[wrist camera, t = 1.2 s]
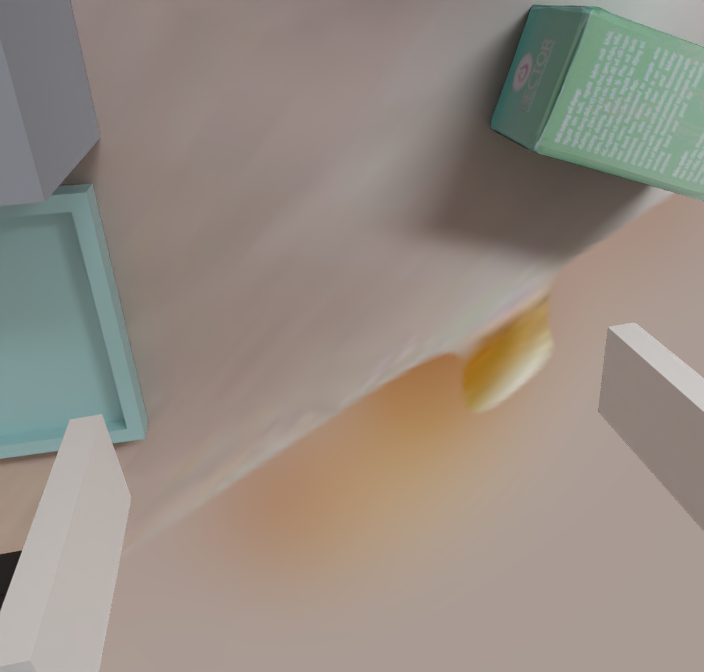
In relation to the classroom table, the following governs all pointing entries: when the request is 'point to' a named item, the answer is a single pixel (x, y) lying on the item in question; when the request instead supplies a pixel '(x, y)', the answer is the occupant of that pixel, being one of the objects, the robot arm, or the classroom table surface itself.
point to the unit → (41, 99)
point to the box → (607, 97)
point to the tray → (61, 327)
